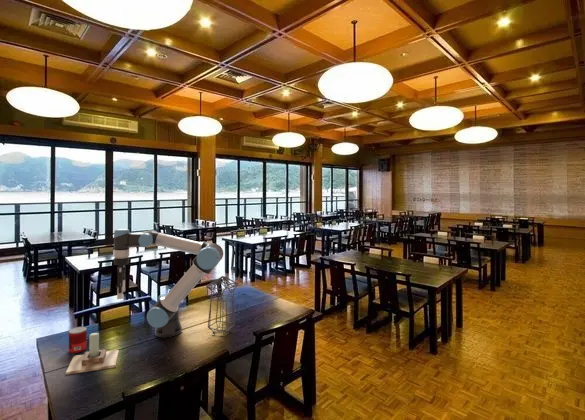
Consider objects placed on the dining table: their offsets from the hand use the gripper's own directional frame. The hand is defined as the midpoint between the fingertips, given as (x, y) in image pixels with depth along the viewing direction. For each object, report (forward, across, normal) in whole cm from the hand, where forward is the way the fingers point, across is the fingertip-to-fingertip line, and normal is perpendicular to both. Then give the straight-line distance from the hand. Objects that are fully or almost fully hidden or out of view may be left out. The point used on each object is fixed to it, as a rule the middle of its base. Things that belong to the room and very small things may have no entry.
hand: (121, 295), depth 183 cm
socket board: (+27, +20, -10) cm, 35 cm away
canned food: (+27, +3, -20) cm, 34 cm away
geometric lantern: (+27, +5, +55) cm, 61 cm away
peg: (+27, +20, -10) cm, 35 cm away
